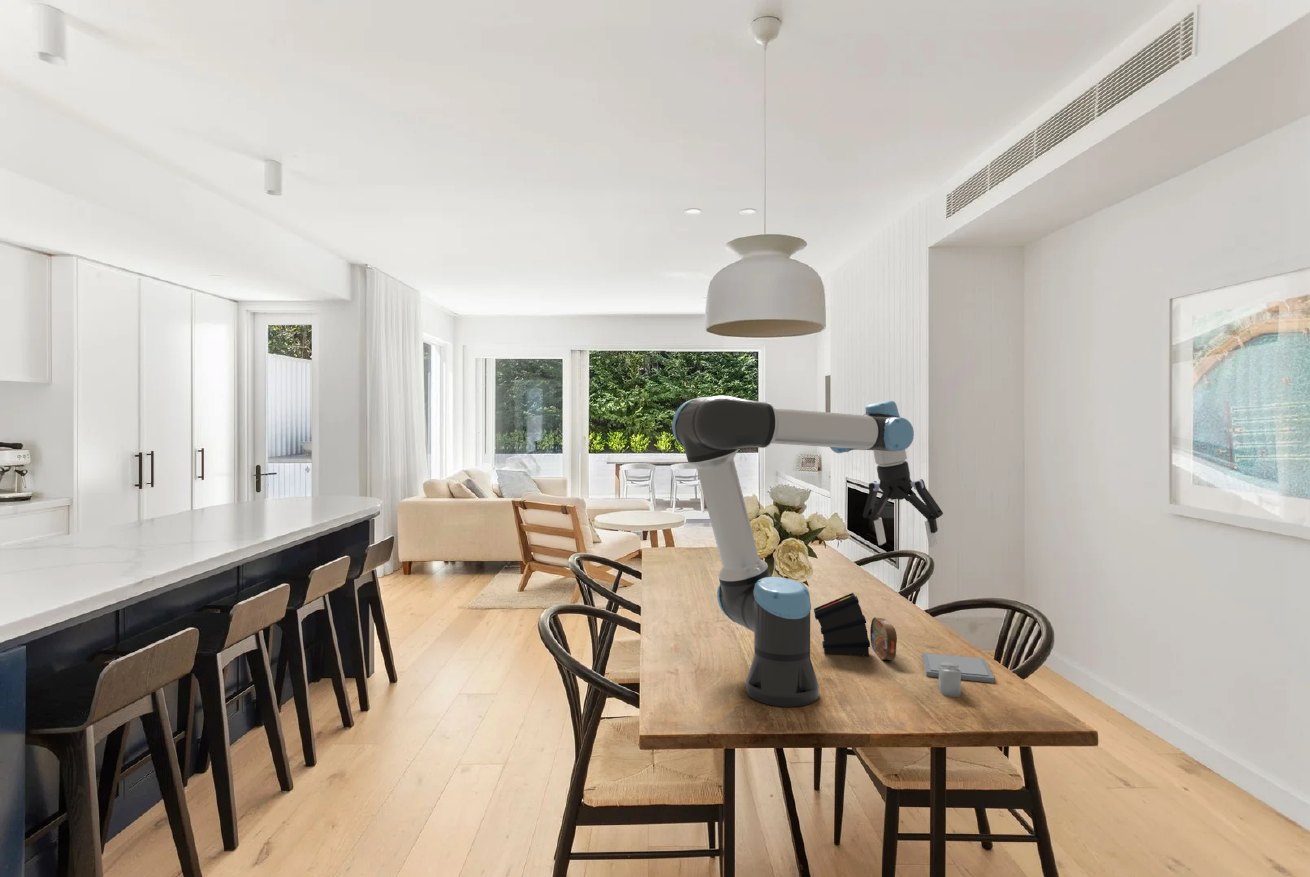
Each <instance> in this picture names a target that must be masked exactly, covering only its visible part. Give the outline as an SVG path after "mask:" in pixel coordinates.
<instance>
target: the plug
mask: <svg viewBox="0 0 1310 877" xmlns="http://www.w3.org/2000/svg"><path fill="white" fill-rule="evenodd" d="M961 681H962V680H961V670H960V668H959V666H958V665H957V664H954V663H948V662H942V663H939V677H938V690H939V693H940V694H941V693H942V694H943V695H942V694H941V695H942V696H944V695H946V696H945V697H949V698H959V697H961V694H962V693H961V692H962V690H961V688H962V687H961V686H962V684H961V683H962V682H961Z"/></svg>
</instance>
